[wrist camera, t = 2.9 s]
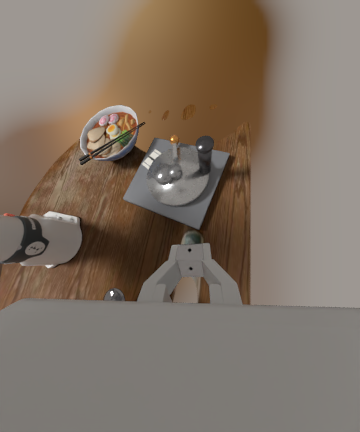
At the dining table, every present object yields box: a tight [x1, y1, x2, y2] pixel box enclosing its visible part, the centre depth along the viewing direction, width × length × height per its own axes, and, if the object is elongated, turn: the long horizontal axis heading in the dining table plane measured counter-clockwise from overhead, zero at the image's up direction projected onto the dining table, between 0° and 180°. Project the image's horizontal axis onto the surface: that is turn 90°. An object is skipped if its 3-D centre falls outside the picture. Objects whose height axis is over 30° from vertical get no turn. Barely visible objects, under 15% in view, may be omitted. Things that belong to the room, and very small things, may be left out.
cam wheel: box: [147, 135, 214, 207], centre depth 35 cm, size 20×23×12 cm
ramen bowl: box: [79, 105, 145, 165], centre depth 48 cm, size 25×23×8 cm
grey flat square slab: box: [123, 138, 230, 230], centre depth 42 cm, size 27×25×3 cm
